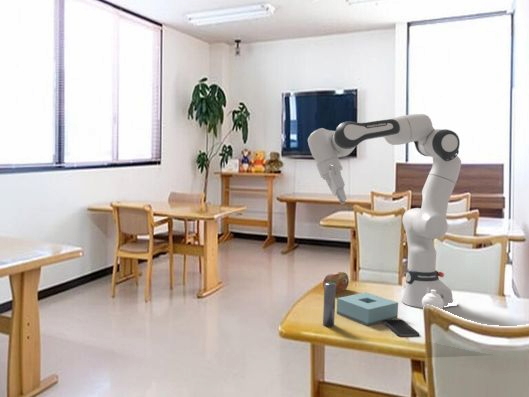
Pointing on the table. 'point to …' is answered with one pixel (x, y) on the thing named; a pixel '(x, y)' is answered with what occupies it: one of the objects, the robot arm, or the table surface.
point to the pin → (329, 304)
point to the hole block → (367, 308)
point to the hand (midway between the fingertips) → (344, 202)
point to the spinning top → (433, 299)
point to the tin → (338, 280)
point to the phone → (401, 328)
